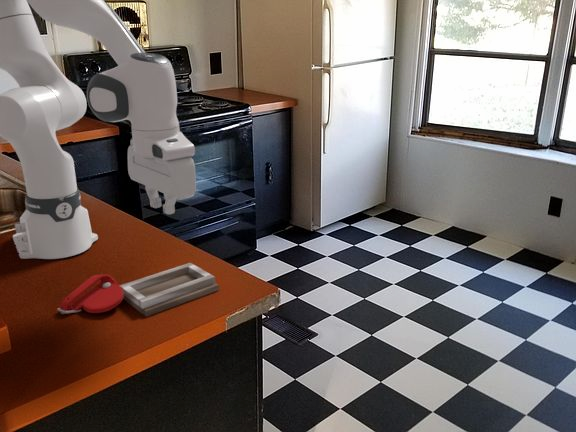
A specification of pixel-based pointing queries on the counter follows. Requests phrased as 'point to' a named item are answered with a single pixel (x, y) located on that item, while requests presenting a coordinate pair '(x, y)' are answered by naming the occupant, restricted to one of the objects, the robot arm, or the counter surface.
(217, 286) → the grey rectangular tray
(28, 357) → the counter surface
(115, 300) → the tracker holder
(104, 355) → the counter surface
